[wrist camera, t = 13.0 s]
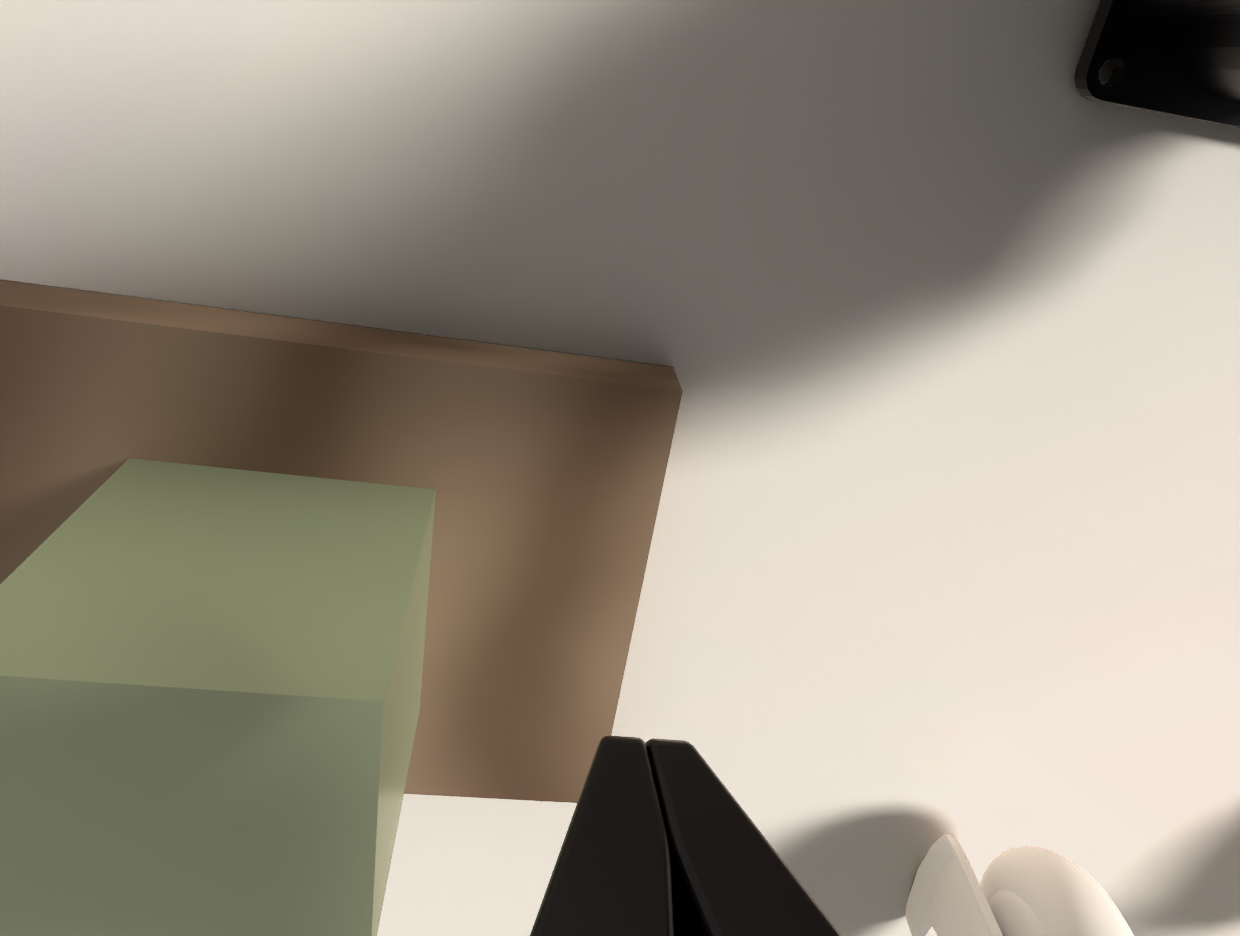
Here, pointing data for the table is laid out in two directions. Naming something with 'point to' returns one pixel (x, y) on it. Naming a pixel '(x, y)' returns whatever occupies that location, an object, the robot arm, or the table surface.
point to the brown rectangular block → (383, 454)
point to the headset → (1009, 896)
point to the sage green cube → (211, 705)
